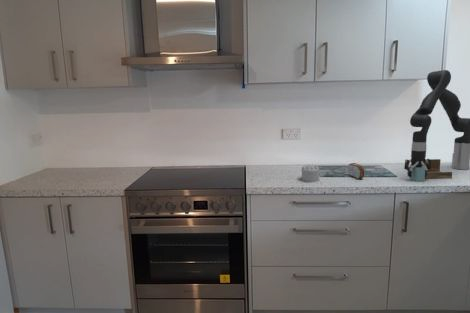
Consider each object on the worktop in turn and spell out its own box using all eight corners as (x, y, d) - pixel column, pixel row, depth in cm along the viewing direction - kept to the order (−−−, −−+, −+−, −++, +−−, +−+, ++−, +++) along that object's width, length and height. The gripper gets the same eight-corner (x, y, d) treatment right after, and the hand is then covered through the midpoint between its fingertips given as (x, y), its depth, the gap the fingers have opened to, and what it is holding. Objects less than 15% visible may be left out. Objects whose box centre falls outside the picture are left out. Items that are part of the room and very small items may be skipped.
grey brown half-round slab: (364, 180, 199) (365, 166, 197) (359, 180, 198) (360, 166, 197) (351, 174, 213) (352, 161, 212) (347, 174, 213) (347, 162, 211)
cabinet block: (409, 178, 199) (410, 165, 197) (416, 178, 199) (417, 165, 197) (416, 181, 191) (417, 168, 189) (424, 181, 191) (425, 168, 189)
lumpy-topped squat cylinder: (318, 177, 209) (318, 163, 207) (320, 182, 196) (320, 168, 195) (301, 177, 210) (301, 163, 209) (302, 182, 198) (302, 168, 196)
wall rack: (414, 173, 209) (415, 159, 208) (438, 173, 209) (439, 159, 208) (426, 179, 196) (427, 164, 195) (451, 178, 196) (453, 163, 195)
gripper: (427, 148, 195) (425, 174, 198) (403, 148, 195) (401, 175, 198) (434, 150, 188) (432, 177, 191) (409, 150, 188) (408, 178, 191)
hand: (416, 176), depth 194 cm, fingers open, 8 cm apart
